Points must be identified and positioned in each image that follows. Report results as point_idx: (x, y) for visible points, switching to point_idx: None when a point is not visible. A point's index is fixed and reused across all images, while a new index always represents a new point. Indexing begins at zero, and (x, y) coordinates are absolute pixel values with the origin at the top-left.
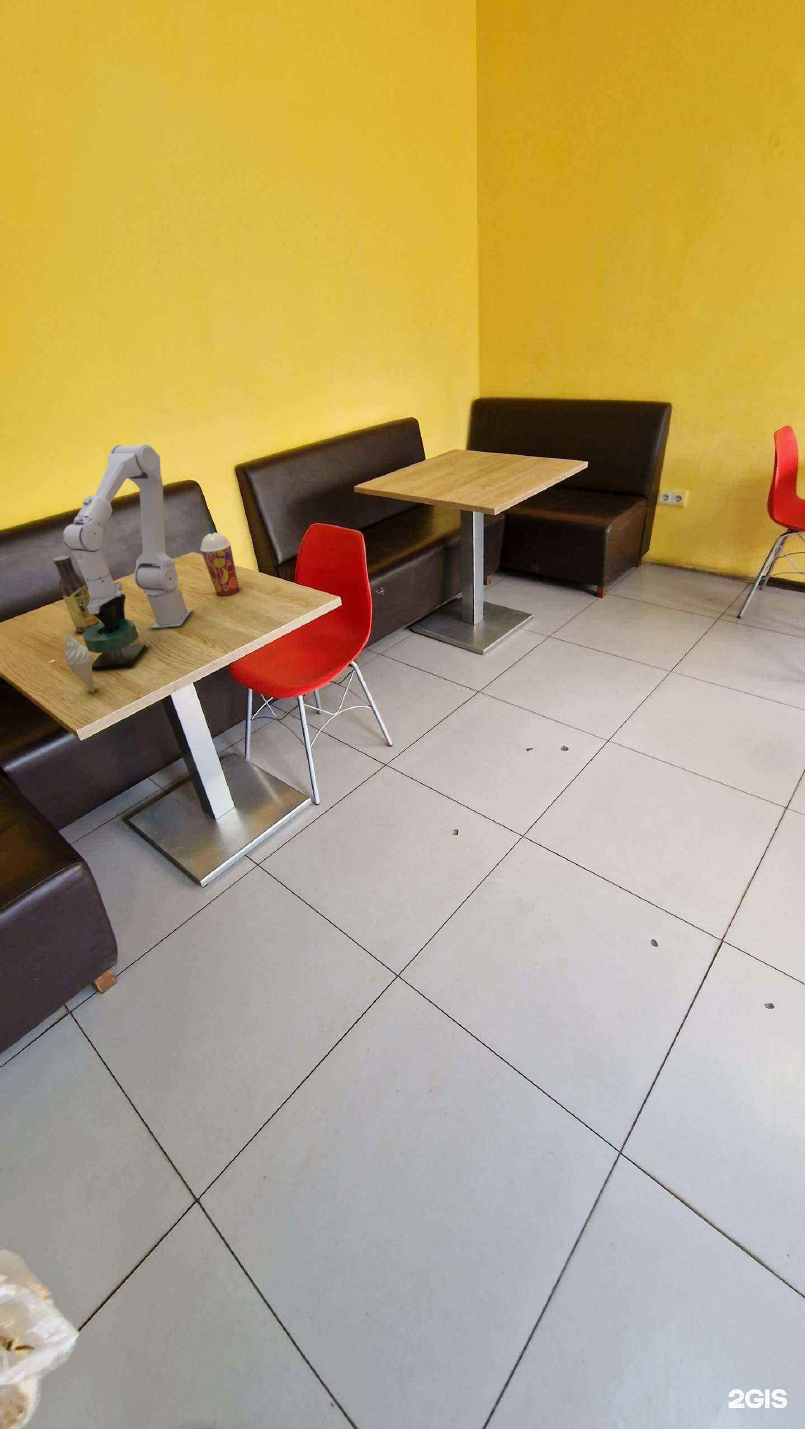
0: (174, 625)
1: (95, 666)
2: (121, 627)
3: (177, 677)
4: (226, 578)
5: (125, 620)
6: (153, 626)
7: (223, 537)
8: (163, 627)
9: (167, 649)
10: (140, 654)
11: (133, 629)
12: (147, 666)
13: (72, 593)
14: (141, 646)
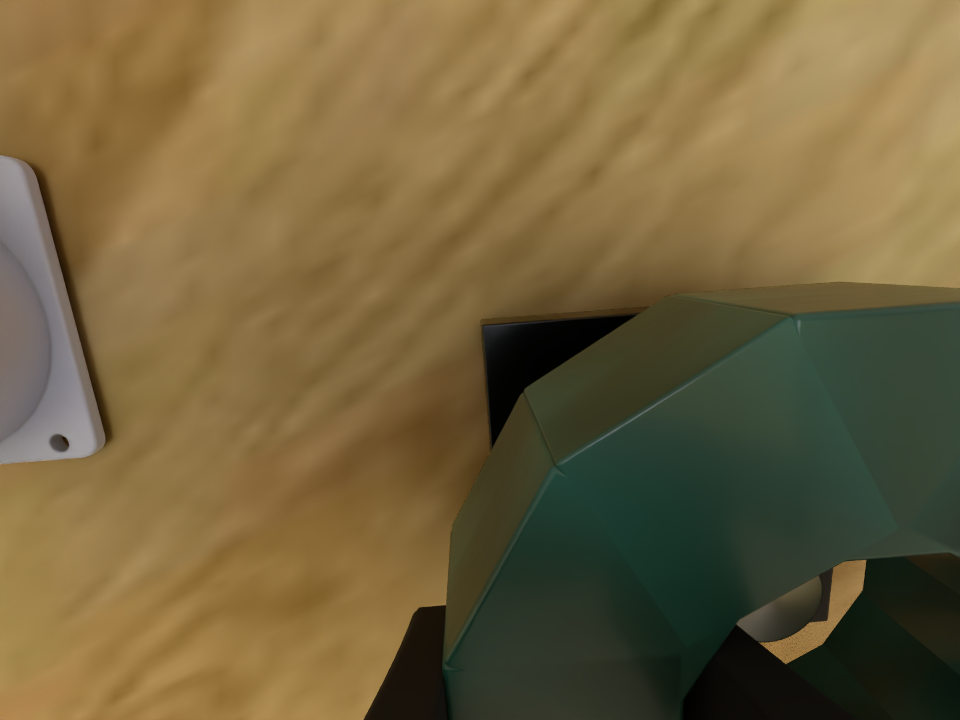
0: (35, 217)
1: (829, 580)
2: (864, 533)
3: None
4: None
5: (540, 606)
6: (79, 438)
7: None
8: (78, 336)
9: (525, 90)
10: (626, 310)
11: (846, 302)
12: (830, 152)
13: None
14: (532, 342)
